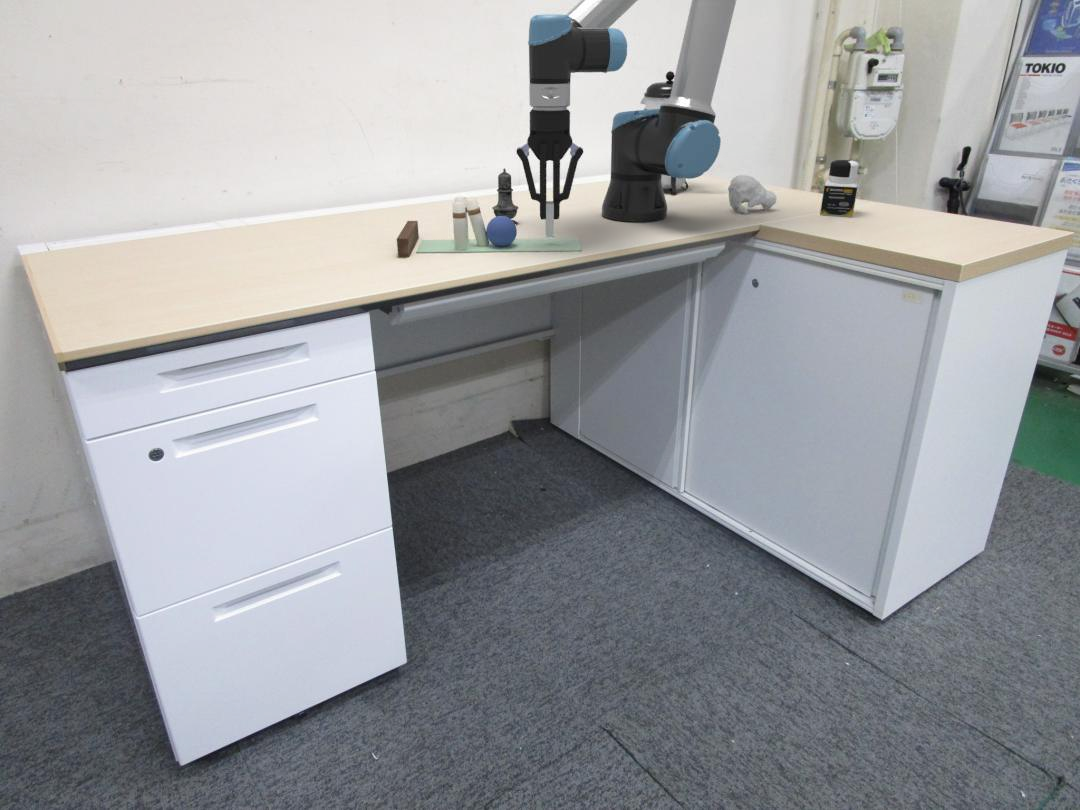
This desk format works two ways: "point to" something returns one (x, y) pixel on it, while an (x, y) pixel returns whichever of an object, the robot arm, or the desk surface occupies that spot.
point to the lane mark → (515, 246)
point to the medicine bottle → (840, 189)
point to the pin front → (477, 222)
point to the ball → (501, 231)
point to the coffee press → (653, 100)
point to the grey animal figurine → (749, 194)
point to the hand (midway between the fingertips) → (549, 235)
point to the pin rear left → (459, 225)
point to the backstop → (407, 239)
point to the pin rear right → (463, 199)
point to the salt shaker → (505, 197)
